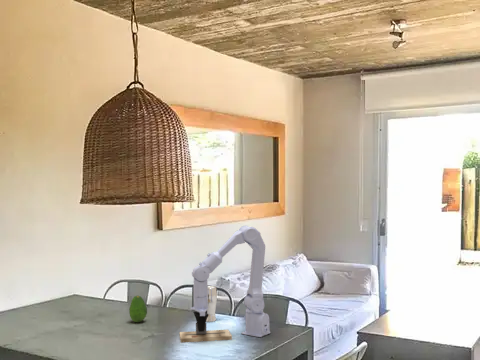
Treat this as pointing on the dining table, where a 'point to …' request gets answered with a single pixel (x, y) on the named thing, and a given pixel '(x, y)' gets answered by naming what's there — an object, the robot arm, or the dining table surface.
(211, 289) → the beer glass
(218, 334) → the fader board
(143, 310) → the avocado
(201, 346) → the dining table surface
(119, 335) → the dining table surface
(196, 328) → the fader knob
